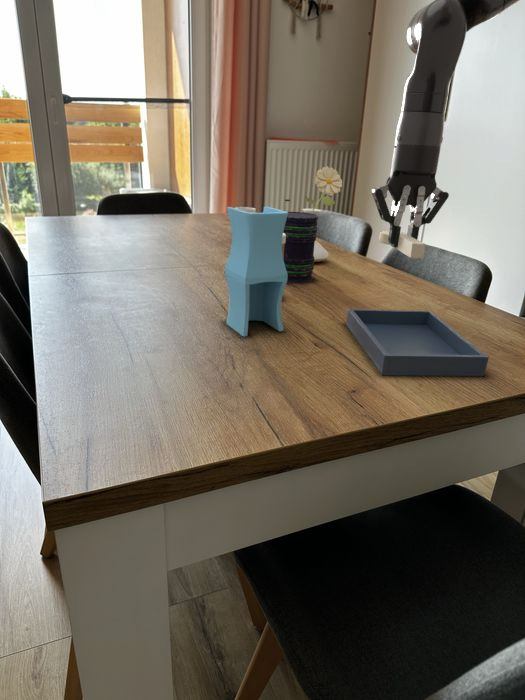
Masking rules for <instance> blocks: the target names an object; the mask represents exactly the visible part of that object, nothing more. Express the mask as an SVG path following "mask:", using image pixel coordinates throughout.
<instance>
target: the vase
mask: <svg viewBox="0 0 525 700" xmlns="http://www.w3.org/2000/svg"><path fill="white" fill-rule="evenodd" d="M226 210H227V215H228V219H229V224H230V230H231V246H230V251H229V255H228V258H227V261H226V263H225V266H224V275H225V280H226V284H227V290H228V298H229V299H228V301H229V302H228V312H227V318H226V323H225V324H226V325H227V326H228V327H230V328H231V330H234V331H235V332H236V333H237V334H239V335H240V336H242V337H248V331H249V321H250V322H251V321H257V322H258V321H259V322H264V323H266V324H267V325H268V326H271V327H272V328H273V329H274V330H277V331H278V332H284V331H285V330H284V326H283V320H282V300H283V298H284V292H285V288H286V286H287V284H288V283H287V278H288V274H287V271H286V268H285V264H284V260H283V254H282V236H283V231H284V226H285V223H286V219H287V216H288V212H289V211H286V210H283V209H278V208H276V207H271V206H264V207H263V211H262V212H255V213H252V212H245V211H242V210H239V209H235V207H232V206H227V207H226Z"/></svg>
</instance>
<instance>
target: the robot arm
mask: <svg viewBox="0 0 525 700" xmlns="http://www.w3.org/2000/svg"><path fill="white" fill-rule="evenodd" d="M519 2H520V0H433V1H431V2H430V3H428V4H427V5H425V6H423V7H421V8H420V9H419V10H418V11H417V12H415V14H414V15H413V16H412V17H411V19H410V21H409V22H408V26H407V29H406V43H407V46H408V48H409V50H410V51H411V52H412V53H413V54H415V55H416V57H415V62H414V65H413V69H412V71H411V73H410V74H409V75H407V78H406V80H405V83H404V87H403V91H402V92H403V93H402V100H401V106H400V114H399V118H398V122H397V125H396V132H395V137H394V144H393V151H392V159H391V165H390V166H391V167H390V174H389V176H388V178H387V179H386V181H385V183H384V184H383V185H380V186H378V187H373V188H372V189H371V191H370V192H371V195H372V198H373V200H374V203H375V206H376V209H377V212H378V215H379V218H380V219H381V220H382V221H384V222H386V223H388V224H389V229H388V231H389V237H388V241H389V243H391V245H390V246H391V247H392V248H394V247H398V242H399V236H400V232H401V231H402V230H401V229H402V226H400V225H401V223H402V218H403V214H404V213H405V210H406V208H407V206H409V212H410V214H409V224H408V227H407V232H406V234H407V235H409V236H411V237H413V238H415V239H417V240H419V233H420V228H421V227H422V226H424V225H426V224H428V225H429V224H430V223H432V221H433V220H434V218H435V217H436V216H437V215H438V213H439V211H440V210H441V209H442V207H443V206H444V204H445V203H446V201H447V200H448V199H449V196H450V194H449V193H448V191H444V190H442V189H441V188H439V187H437V186H438V185H437V180H436V174H437V170H438V166H439V165H438V164H439V158H440V153H441V148H442V143H443V141H444V129H445V114H446V109H447V104H448V97H449V92H450V84H451V81H452V78H453V76H454V73H455V71H456V68H457V65H458V62H459V59H460V56H461V54H462V50H463V47H464V44H465V39H466V36H467V33H468V32H469V31H471V30H472V29H473V28H476V27H478V26H479V25H481V24H483V23H487V22H488V21H491V20H492V19H494V18H495V17H497V16H499V15H500V14H502V13H503V12H505V11H507V10H508V9H509V8H511V7H512V6H514V5H515V4H517V3H519ZM388 192H389V194H390V196H391V198H392V205H391V213H390V210H389V207H388V205H387V201H386V199H387V198H388ZM430 196H431V197H430ZM428 198H430V199H431V201H430V202H429V204H428V205H427V207H426V208H425V209H424V205H425V202H426V200H427V199H428Z"/></svg>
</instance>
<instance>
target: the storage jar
mask: <svg viewBox="0 0 525 700" xmlns="http://www.w3.org/2000/svg"><path fill="white" fill-rule="evenodd" d="M284 202H291V199H286V198H285V199H284ZM287 212H288V216H287V219H286V223H285V226H284V231H283V233H284V234H286V242H285V245H284V258H283V260H284V264H285V268H286V271H287V274H288V278H287V283H286V284H308V283H310V282H312V281H313V274H314V269H315V268H314V267H315V262H314V256H313V254H314V243H315V240H316V241H317V233H318V219H319V215H318V216H317V215H315V214H310V213H304V211H303V212H302V211H287Z"/></svg>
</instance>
